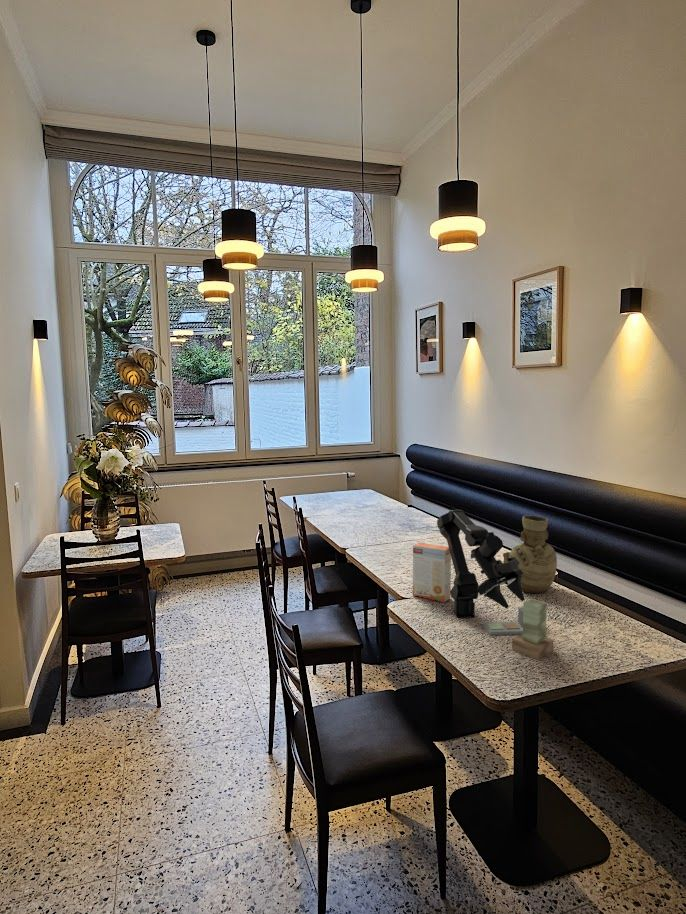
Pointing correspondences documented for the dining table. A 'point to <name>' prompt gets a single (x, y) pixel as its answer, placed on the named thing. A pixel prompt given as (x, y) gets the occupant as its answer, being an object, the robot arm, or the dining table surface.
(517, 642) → the walnut base block
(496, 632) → the board
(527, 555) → the ceramic vessel
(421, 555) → the cracker box
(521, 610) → the charcoal cube
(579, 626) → the dining table surface
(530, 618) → the sage pillar
